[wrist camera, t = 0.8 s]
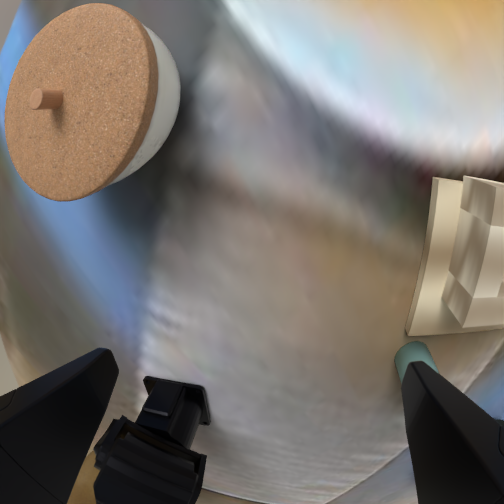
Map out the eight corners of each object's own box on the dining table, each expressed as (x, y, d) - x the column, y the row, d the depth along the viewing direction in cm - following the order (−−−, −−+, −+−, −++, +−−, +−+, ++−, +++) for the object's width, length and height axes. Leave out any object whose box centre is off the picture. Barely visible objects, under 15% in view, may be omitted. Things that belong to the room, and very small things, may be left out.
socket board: (501, 322, 20) (525, 354, 15) (404, 328, 21) (422, 370, 17) (535, 189, 15) (573, 205, 10) (433, 169, 17) (470, 182, 12)
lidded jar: (238, 88, 17) (185, 50, 8) (142, 206, 21) (56, 255, 12) (133, 14, 15) (50, -26, 7) (59, 125, 19) (-31, 137, 11)
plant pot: (133, 464, 39) (102, 532, 24) (79, 410, 35) (30, 485, 20) (206, 472, 35) (179, 558, 20) (151, 415, 31) (99, 521, 16)
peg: (421, 367, 23) (445, 434, 15) (390, 369, 23) (409, 441, 16) (431, 340, 21) (463, 408, 14) (399, 341, 22) (425, 415, 15)
